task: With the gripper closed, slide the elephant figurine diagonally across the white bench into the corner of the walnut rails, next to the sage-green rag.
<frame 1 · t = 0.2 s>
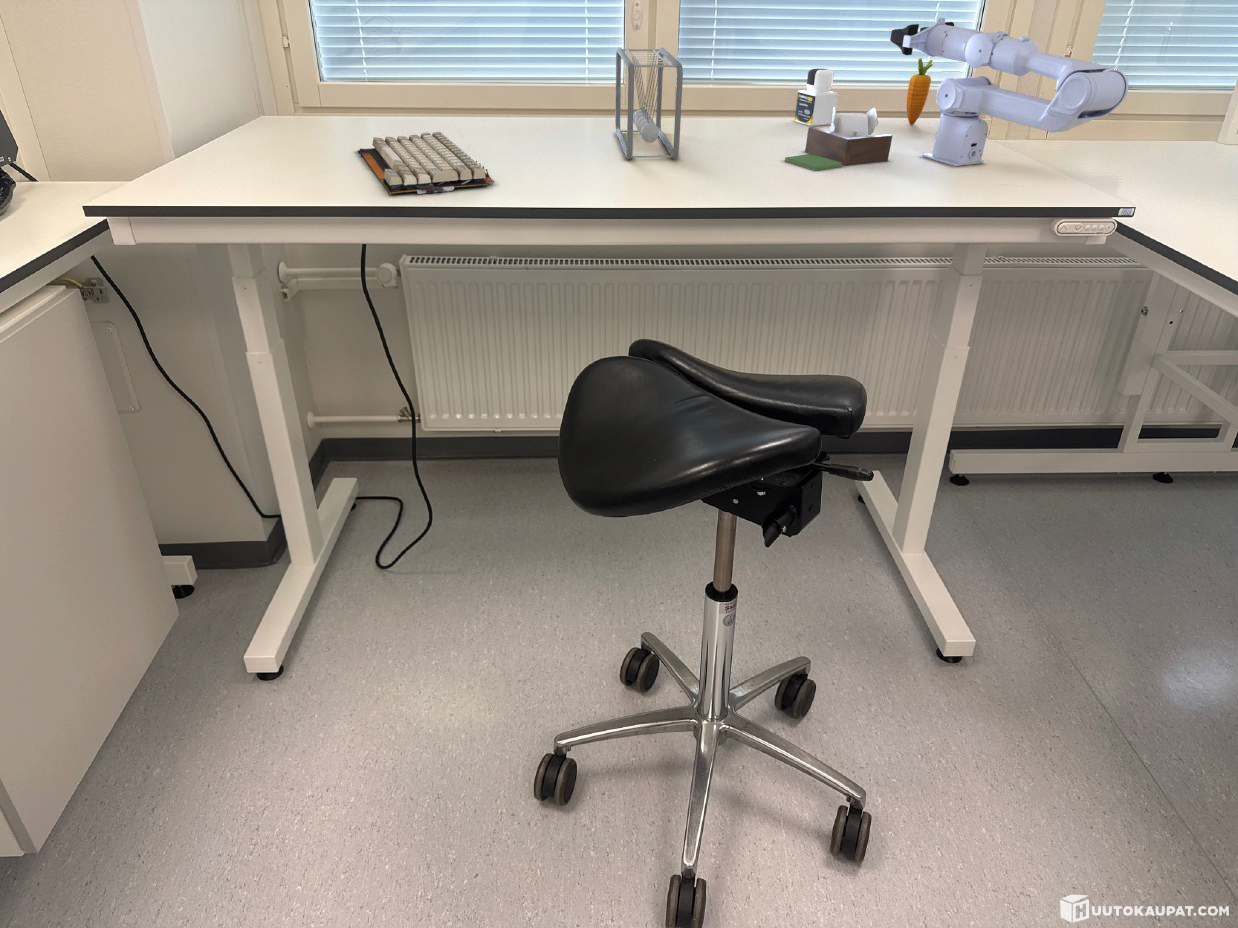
hand: (906, 34, 173), 21 cm above the table, tool horizontal, fingers open, 7 cm apart
newton's cradle: (644, 147, 177), on the table
carrot: (911, 126, 201), on the table
medicine bottle: (814, 123, 202), on the table
corner fence: (846, 155, 172), on the table
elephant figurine: (846, 151, 176), on the table
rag: (812, 164, 165), on the table
mechanical keyboard: (422, 169, 157), on the table
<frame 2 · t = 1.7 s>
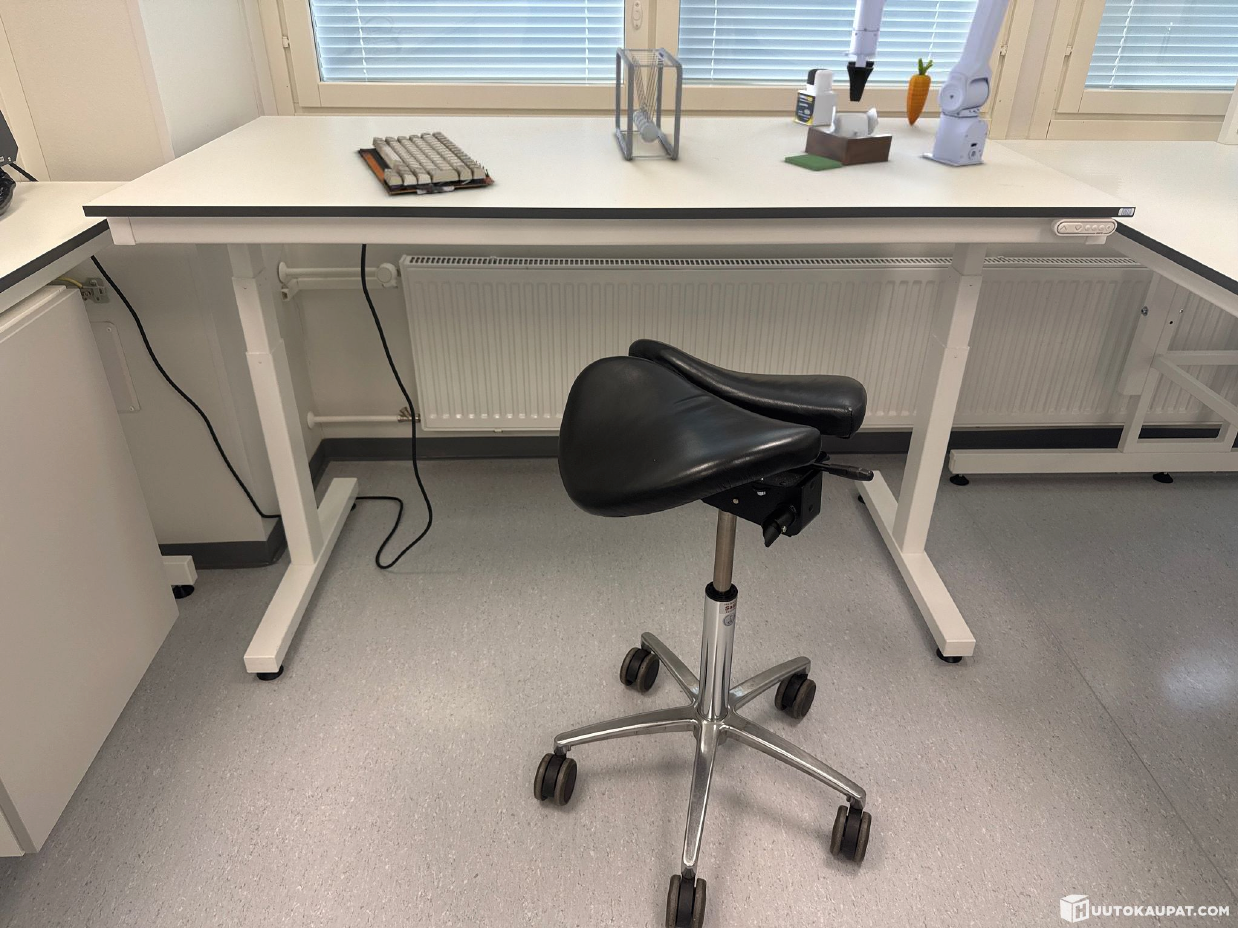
hand: (855, 99, 181), 8 cm above the table, tool pointing down, fingers open, 6 cm apart
nothing on the table moved.
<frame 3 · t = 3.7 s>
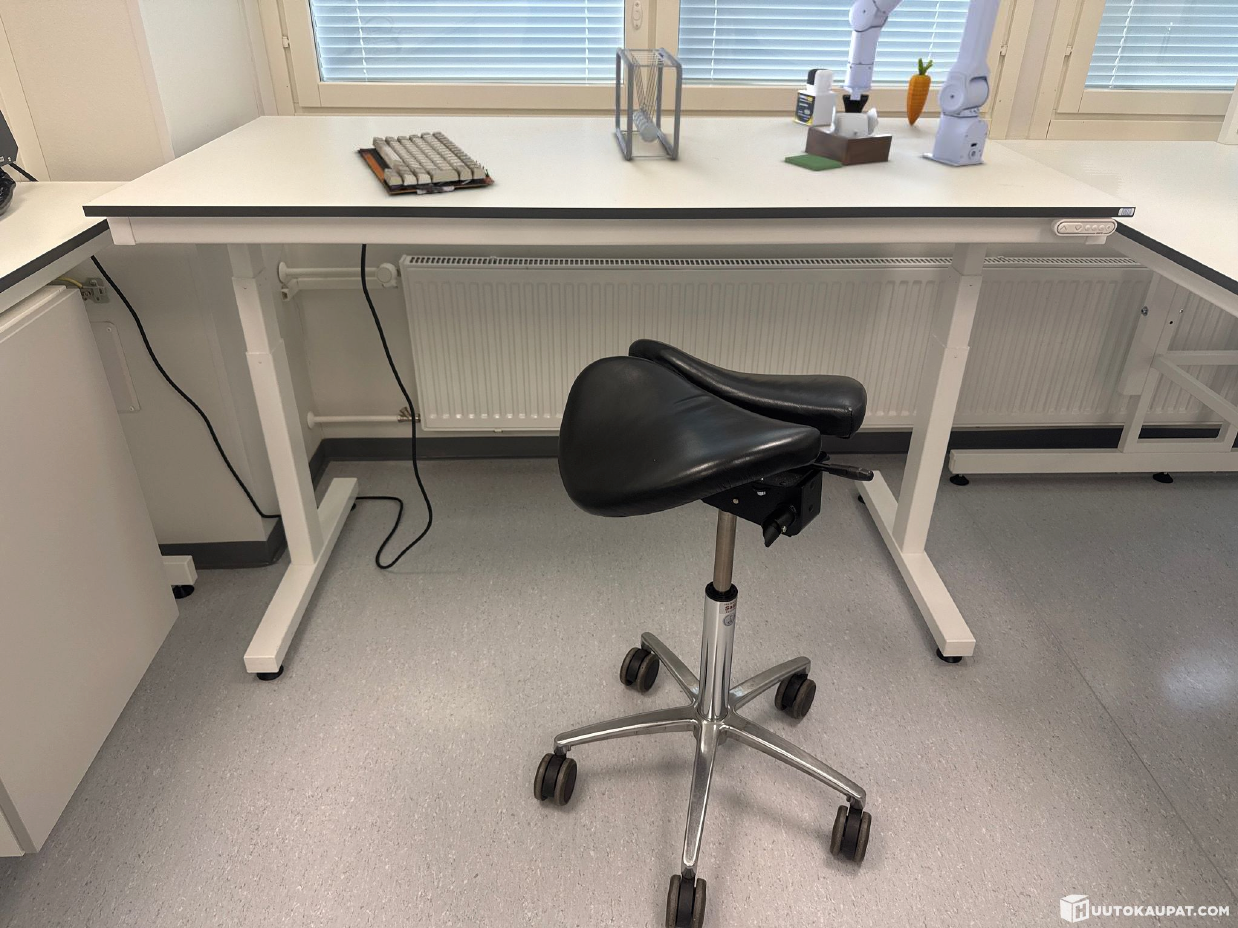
hand: (850, 129, 184), 2 cm above the table, tool pointing down, fingers closed
nothing on the table moved.
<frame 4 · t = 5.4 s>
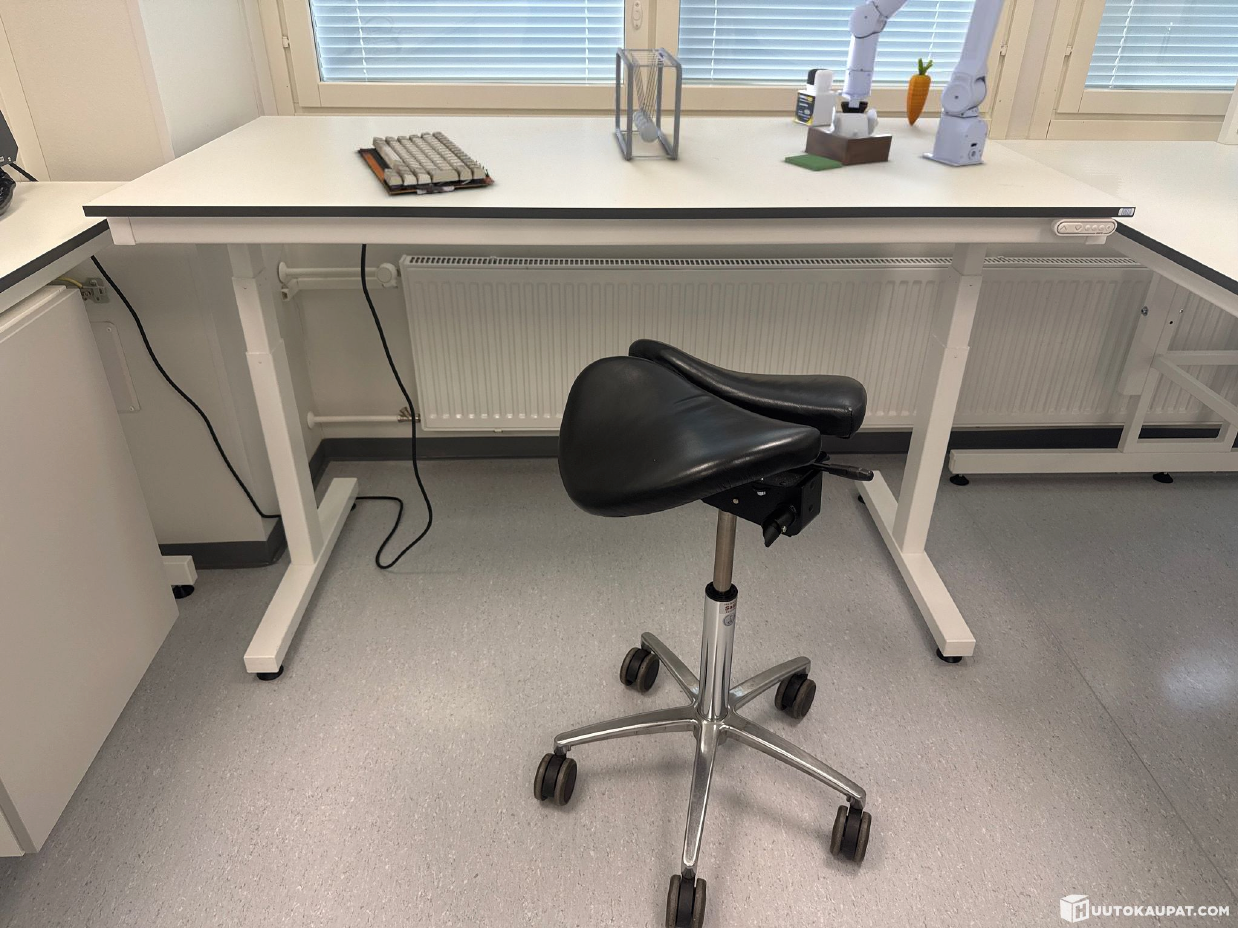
hand: (849, 137, 181), 1 cm above the table, tool pointing down, fingers closed
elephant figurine: (846, 152, 175), on the table, touching gripper
everything else where it was.
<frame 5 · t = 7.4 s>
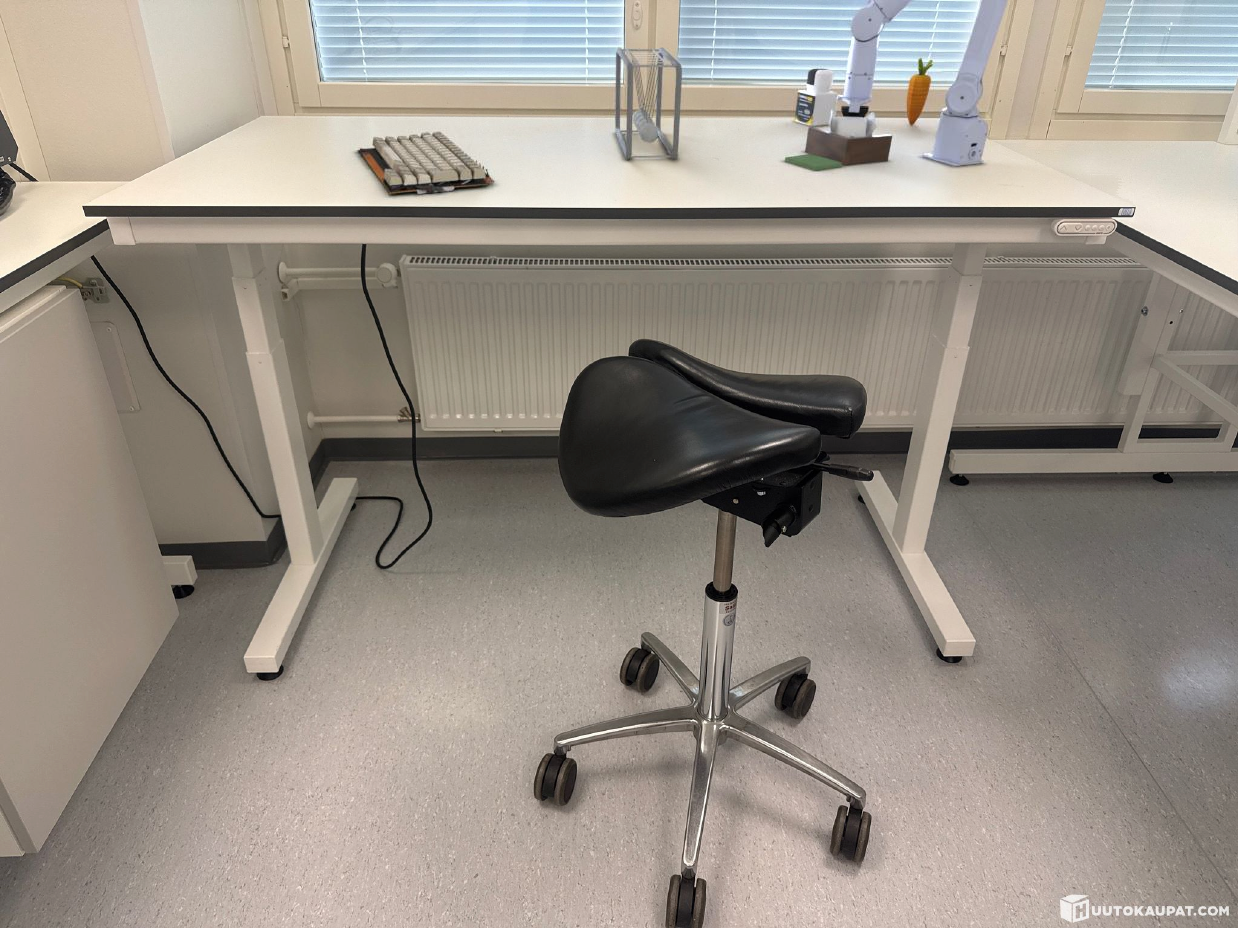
hand: (849, 142, 177), 1 cm above the table, tool pointing down, fingers closed, pressing on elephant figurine
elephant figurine: (844, 156, 172), on the table, touching corner fence, gripper
everything else where it was.
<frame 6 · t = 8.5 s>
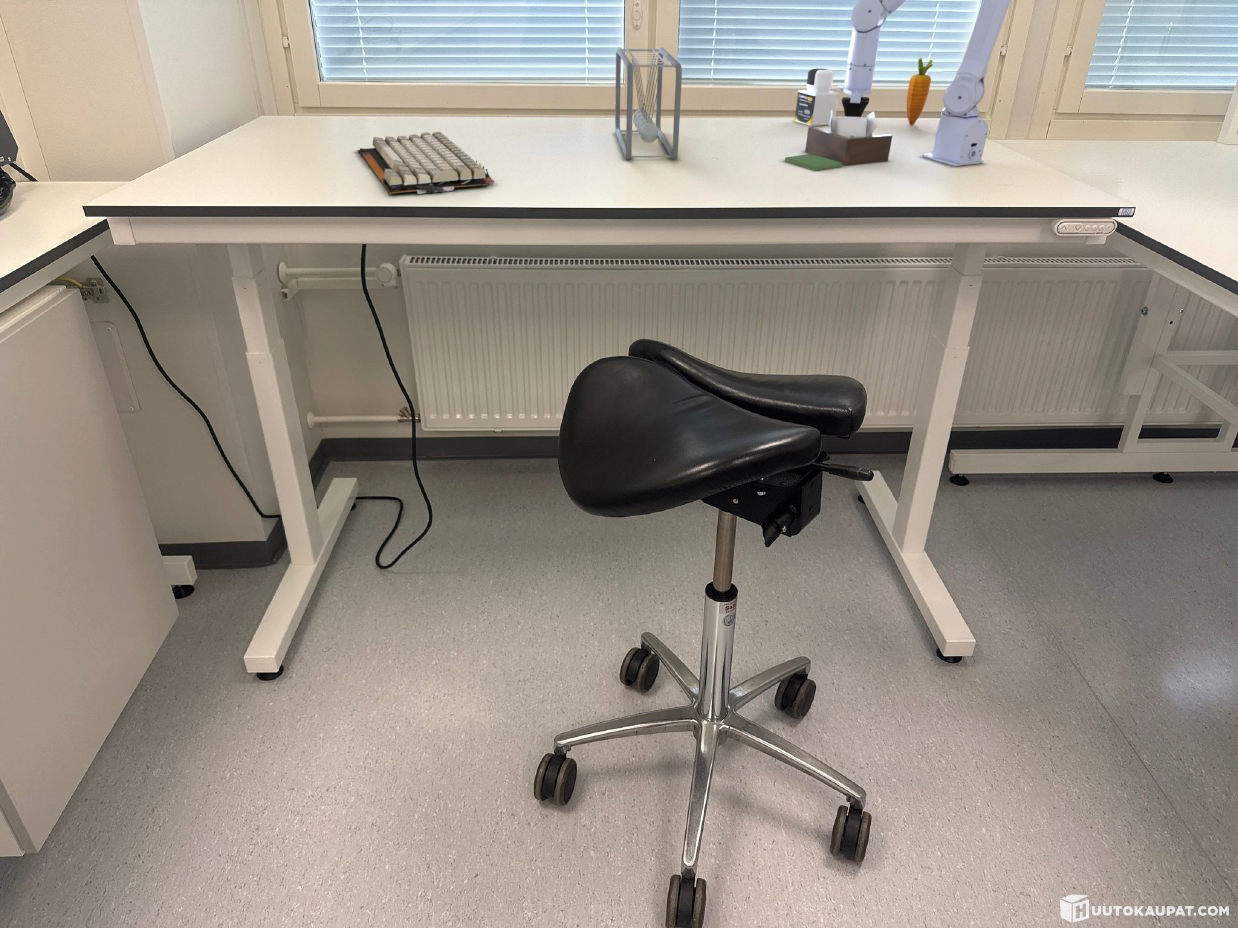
hand: (850, 134, 177), 3 cm above the table, tool pointing down, fingers closed
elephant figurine: (844, 156, 172), on the table, touching corner fence
everything else where it was.
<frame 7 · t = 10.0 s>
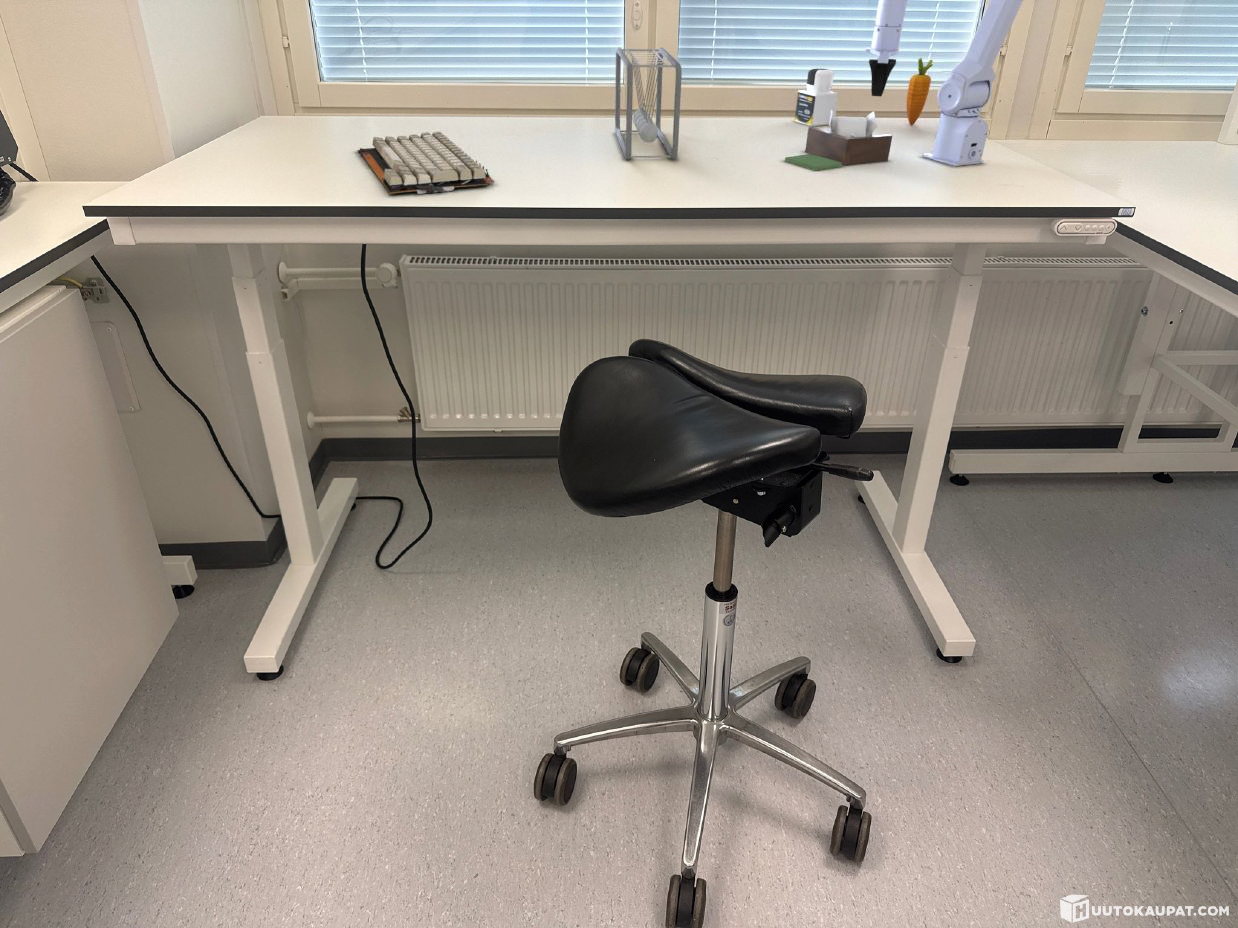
hand: (876, 96, 179), 9 cm above the table, tool pointing down, fingers closed
nothing on the table moved.
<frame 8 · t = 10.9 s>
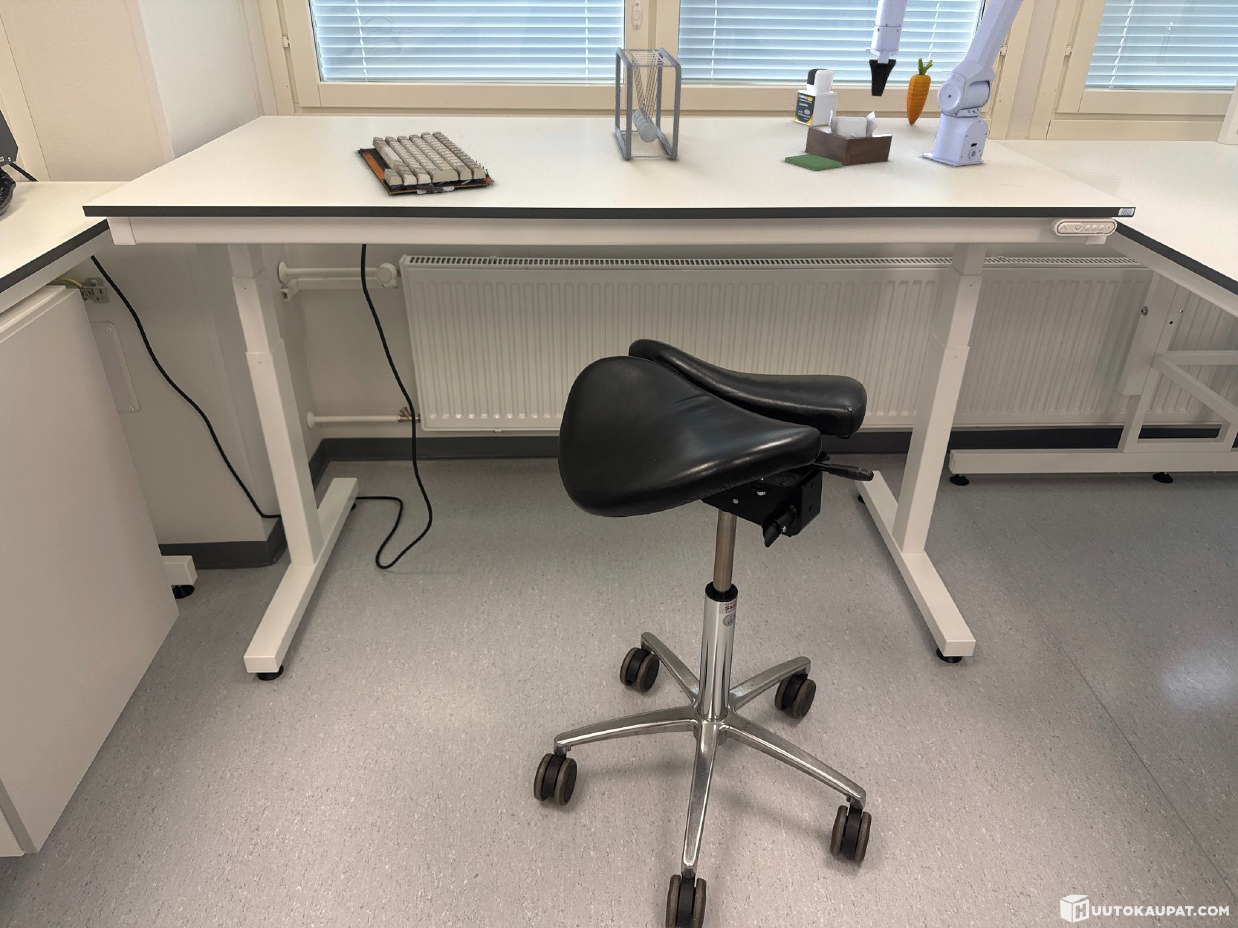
hand: (876, 96, 179), 9 cm above the table, tool pointing down, fingers closed
nothing on the table moved.
at the end: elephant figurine 0.7 cm from the target spot, on the table; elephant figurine moved 4.5 cm from its start; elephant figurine tilted 0° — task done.
